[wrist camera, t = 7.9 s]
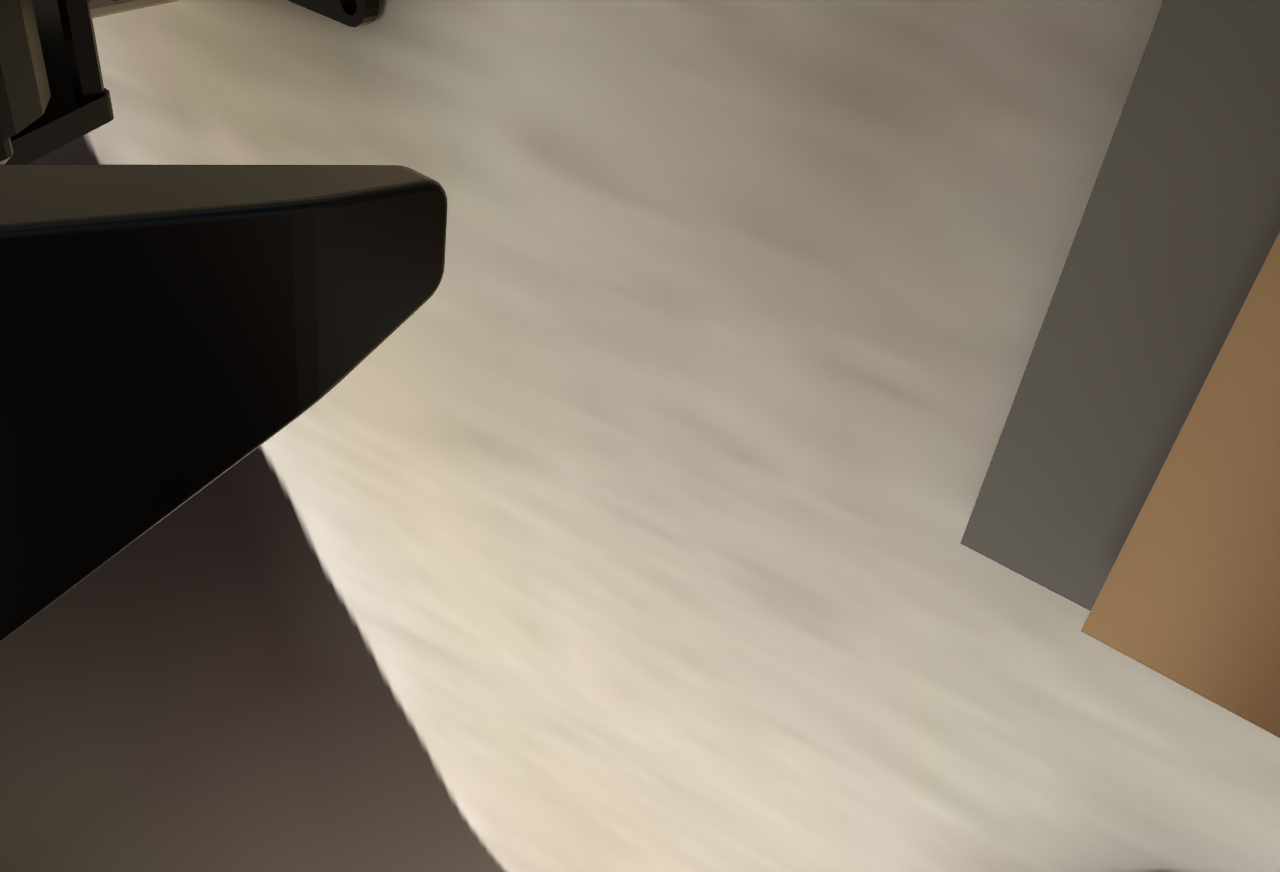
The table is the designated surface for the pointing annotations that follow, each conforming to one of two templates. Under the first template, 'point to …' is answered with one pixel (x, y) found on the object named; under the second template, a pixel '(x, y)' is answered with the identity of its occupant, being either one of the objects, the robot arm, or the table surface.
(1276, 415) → the walnut lid
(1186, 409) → the rubber mat
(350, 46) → the table surface
